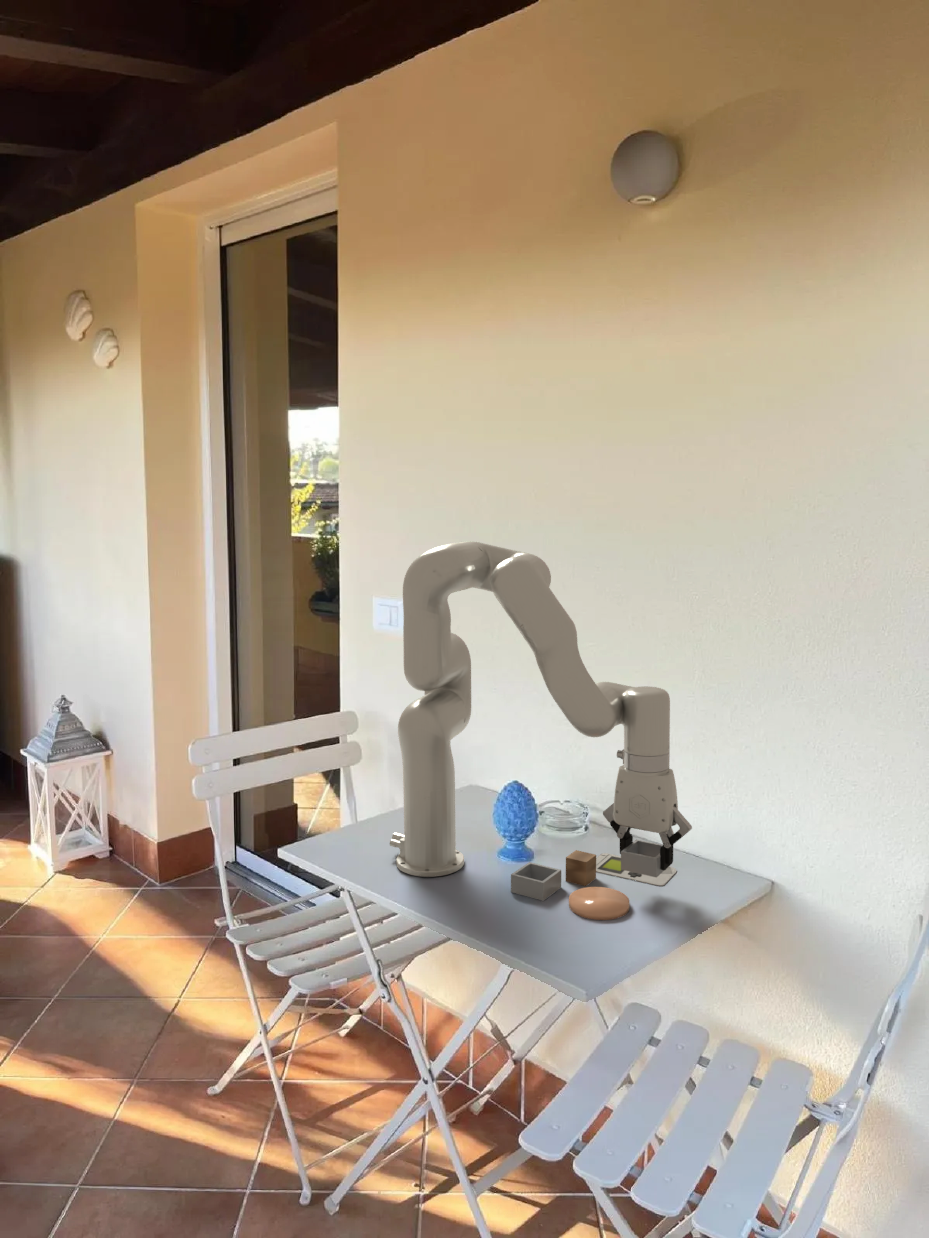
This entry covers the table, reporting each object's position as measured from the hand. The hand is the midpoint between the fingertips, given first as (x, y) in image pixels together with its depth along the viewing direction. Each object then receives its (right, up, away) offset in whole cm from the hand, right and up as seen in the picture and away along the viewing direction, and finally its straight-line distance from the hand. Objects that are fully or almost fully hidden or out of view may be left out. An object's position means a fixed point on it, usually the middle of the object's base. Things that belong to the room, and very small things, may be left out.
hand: (646, 862), depth 160 cm
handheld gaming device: (0, -5, +12) cm, 13 cm away
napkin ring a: (0, -1, 0) cm, 1 cm away
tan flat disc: (-8, -7, -3) cm, 11 cm away
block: (-10, -5, +8) cm, 14 cm away
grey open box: (-18, -6, +4) cm, 20 cm away
